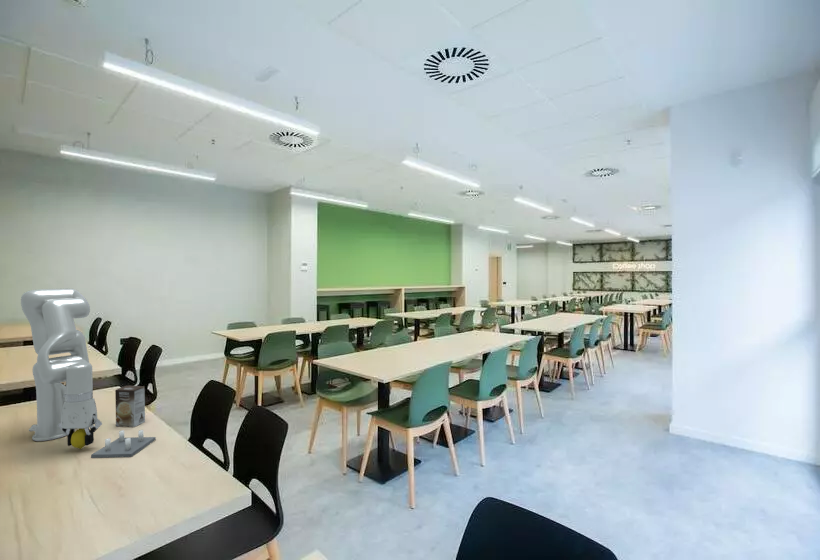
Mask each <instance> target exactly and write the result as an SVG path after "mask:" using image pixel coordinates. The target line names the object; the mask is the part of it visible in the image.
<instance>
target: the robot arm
mask: <svg viewBox="0 0 820 560" xmlns="http://www.w3.org/2000/svg"><path fill="white" fill-rule="evenodd" d="M20 306H21V310H22V312H23V314H24V316H25V317H26V319H27V321H28V322H29V323H28V324H29V325H30V331H31V338H32V342H33V348H34V352H35V353H36V354H37V358H36V362H35V363H34V365H33V366H32V376H33V379H34V384H35V390H36V391H35V393H36V418H37V419H36V421H37V422H36V424H32V425H31V427H30V428H28V431H29V432H34V434H32V436H31V437H32V441H36V442H44V441H52V440H57V439H60V438H63V437H66V436H67V440H66V442H67V446H68V447H70V446H72V444H71V437H72V434H73V433H74V432H75V431H76V430H78V429H85V431H86V434H87V435H85V446H84V447H88V446H89V445H91V444H93V443H94V439H95V438H94V437H95V435H94V434H95V432H96V431H97V430H98V429H99V428H100V427H101V426H102V425H103V422H102V421H101V420H100V419H99V418H98V410H97V404H96V400H95V398H94V391H93V388H94V387H93V386H94V385H93V382H94V381H93V365H92V364H91V363H90V359H89V354H88V349H87V348H88V347H87V342H86V341H87V340H86V337H85V335H84V333H83V332H82V331H81V330H78V329H77V328H76V324H75V321H74V319H84V318H87V317H88V316H89V315H90V312H91V306H90V304H89V301H88V299H86V298H85V296H84V295H83V294H82V293H81V292H79V290H77V289H75V288H69V287H68V288H41V289H31V290H28V291H26V292H23V294H22V295H21V298H20ZM66 353H69V354H70V355H62V356H54V357H50V358H49V356H53V355H60V354H66ZM63 383H65V384H63Z"/></svg>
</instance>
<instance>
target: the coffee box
mask: <svg viewBox="0 0 820 560" xmlns="http://www.w3.org/2000/svg"><path fill="white" fill-rule="evenodd" d="M114 392H115V393H114V394H115V426H116V427H123V426H129V427H128V428H135V427H137V426H139V425H141V424H143V423H145V422H146V412H145V411H146V399H145V398H146V397H145V393H146V390H145V386H144V385H143V386H142V385H141V386H140V385H124V386H122V387H119V388H117V389H115V391H114Z"/></svg>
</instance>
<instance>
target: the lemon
mask: <svg viewBox="0 0 820 560" xmlns="http://www.w3.org/2000/svg"><path fill="white" fill-rule="evenodd" d="M85 435H87V434H86V431H85V429H75V431H74V433H73V434H72V437H71V444H72V445H71V446H72V447H73V448H74V449H79V450H82V449H83V448H85V447H86V446H85Z"/></svg>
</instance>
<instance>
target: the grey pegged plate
mask: <svg viewBox="0 0 820 560" xmlns="http://www.w3.org/2000/svg"><path fill="white" fill-rule="evenodd" d="M137 433H138V435H137V437H134V436H133V437H125V430H124V429H123V430H119V432H118V434H119V435H118V438H116V439H114V440H113V441H111V438H110V437H109V438H106V439H104V446H103V447H102V448H100V449H98V450H96V451H95V452H94V453H91V454H90V455H91V457H90V458H91V459H102V458H103V459H104V458H106V459H107V458H108V459H109V458H112V459H113V458H132V457H134V456H135V455H137V454H138V453H140V452H141V451H142V450H143V449H145V448H146V447H148V446H149V445H151V444H153V443H154V442H155V441H156V438H157V437H156V436H144V429H140V430H139V429H138V431H137ZM154 440H155V441H154ZM153 441H154V442H153ZM150 443H151V444H150ZM133 455H134V456H133Z"/></svg>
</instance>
